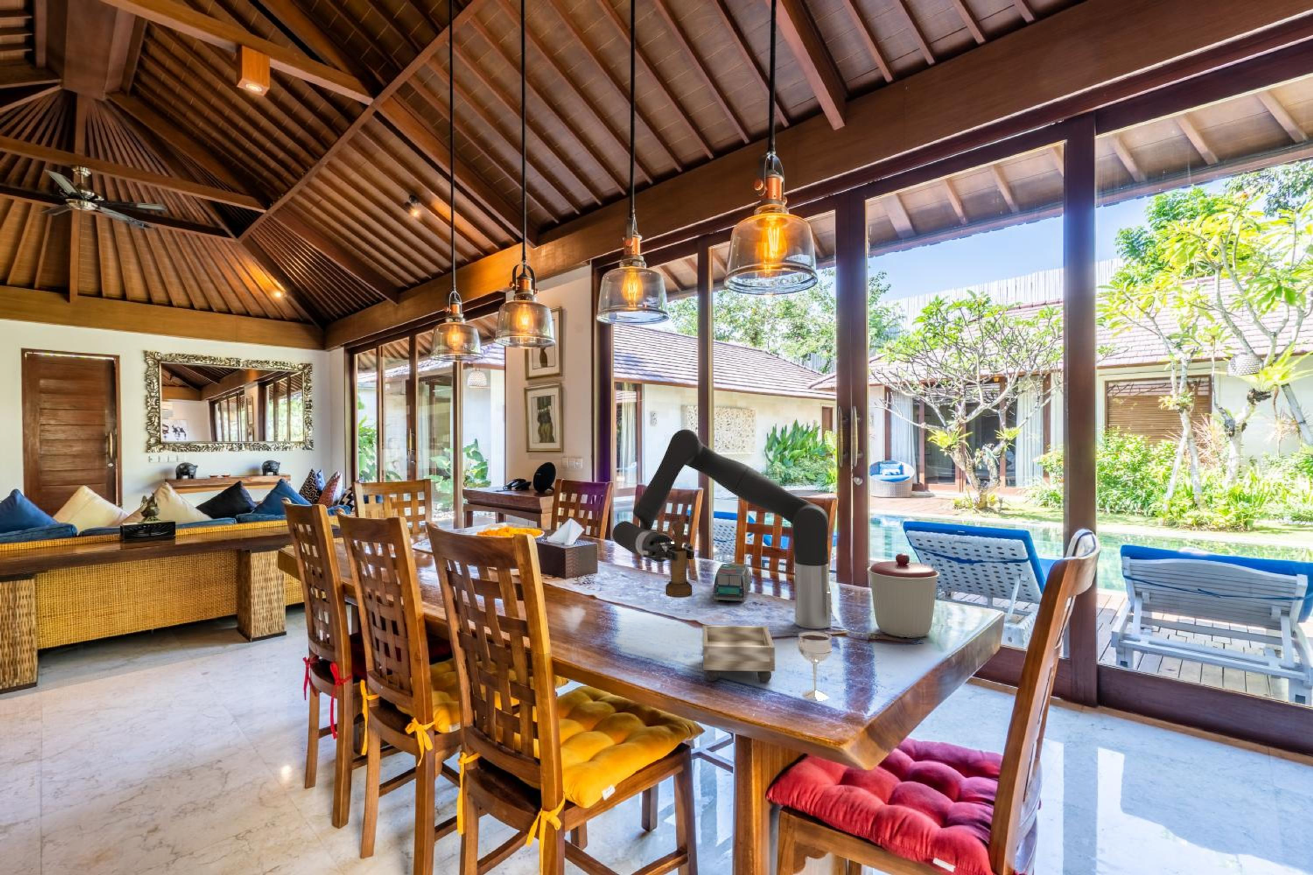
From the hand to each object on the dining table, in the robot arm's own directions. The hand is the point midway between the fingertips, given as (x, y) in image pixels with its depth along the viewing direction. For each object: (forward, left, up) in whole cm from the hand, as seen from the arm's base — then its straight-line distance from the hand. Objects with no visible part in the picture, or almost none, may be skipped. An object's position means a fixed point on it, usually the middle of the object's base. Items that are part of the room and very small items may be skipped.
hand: (684, 555), depth 151 cm
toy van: (-15, -58, -24) cm, 65 cm away
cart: (-12, +12, -23) cm, 29 cm away
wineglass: (-27, +24, -24) cm, 43 cm away
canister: (-58, -19, -24) cm, 65 cm away
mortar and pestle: (+1, -2, -10) cm, 11 cm away
